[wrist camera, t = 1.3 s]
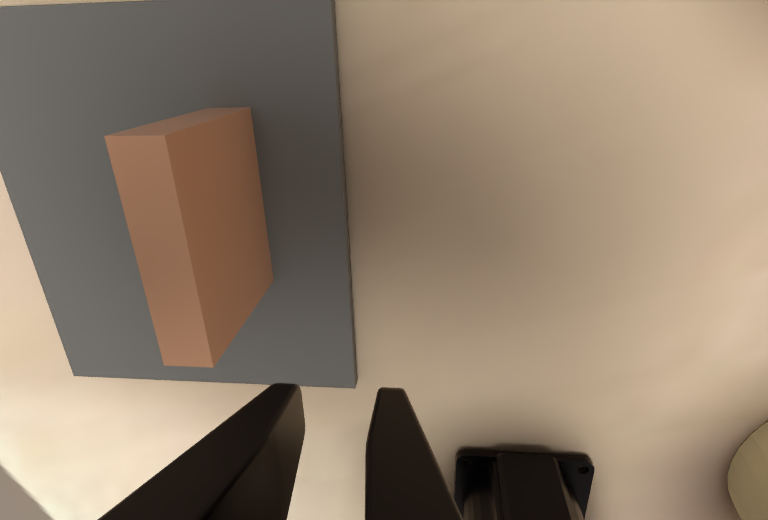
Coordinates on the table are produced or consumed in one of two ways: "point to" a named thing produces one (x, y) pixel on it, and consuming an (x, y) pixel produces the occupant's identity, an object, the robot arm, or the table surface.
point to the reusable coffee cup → (750, 476)
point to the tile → (195, 227)
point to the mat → (163, 101)
